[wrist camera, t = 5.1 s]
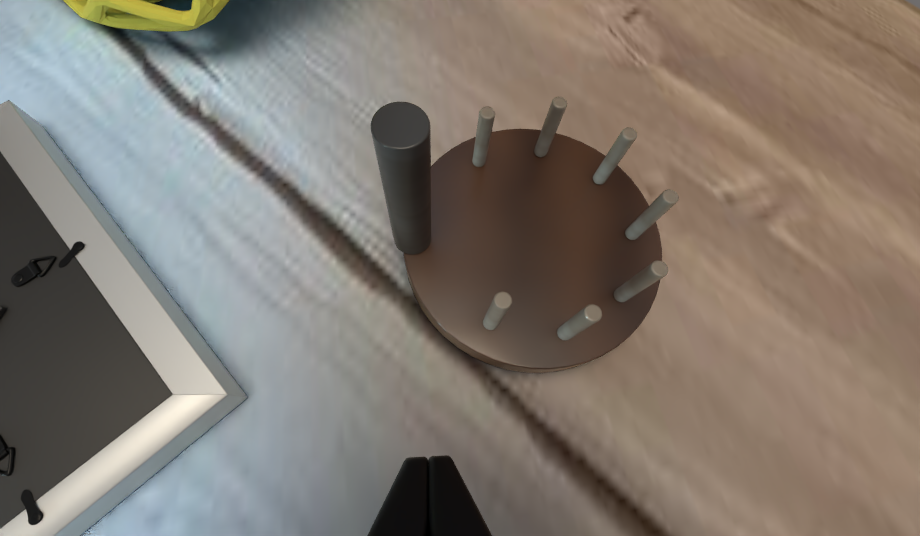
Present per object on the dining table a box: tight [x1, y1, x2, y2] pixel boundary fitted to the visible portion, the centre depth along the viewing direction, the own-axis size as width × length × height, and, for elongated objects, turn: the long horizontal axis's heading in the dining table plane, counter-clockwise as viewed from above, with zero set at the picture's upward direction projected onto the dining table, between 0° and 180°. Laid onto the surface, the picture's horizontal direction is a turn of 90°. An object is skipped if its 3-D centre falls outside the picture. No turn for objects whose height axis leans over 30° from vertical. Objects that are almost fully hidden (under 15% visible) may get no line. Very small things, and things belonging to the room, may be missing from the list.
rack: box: [371, 97, 678, 373], centre depth 18 cm, size 13×13×10 cm
